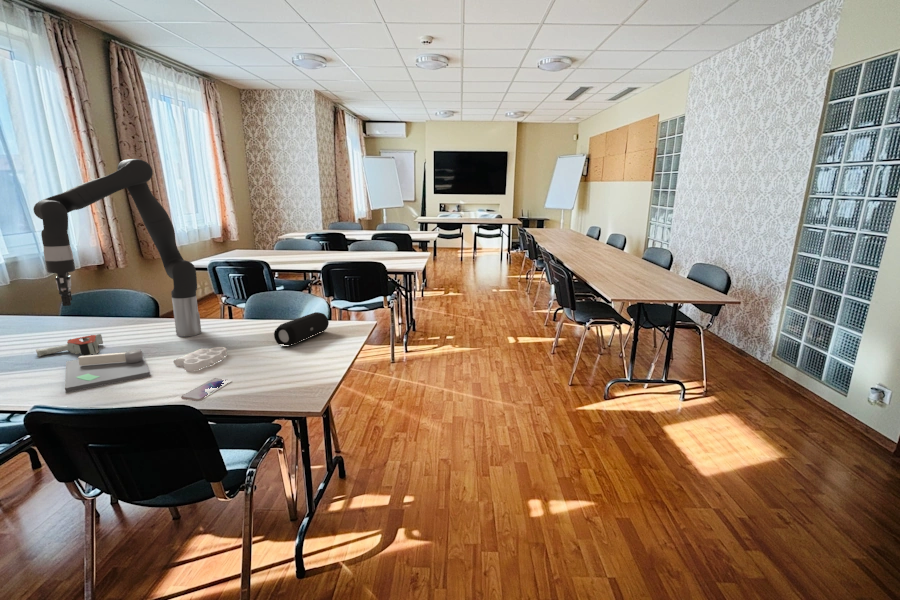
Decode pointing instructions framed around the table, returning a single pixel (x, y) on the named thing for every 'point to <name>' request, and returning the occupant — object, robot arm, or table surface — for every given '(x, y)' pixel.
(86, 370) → the dial plate
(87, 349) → the tape dispenser
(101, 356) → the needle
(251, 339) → the table surface
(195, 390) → the smartphone
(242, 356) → the table surface
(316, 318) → the portable speaker
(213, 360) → the grey paint palette
